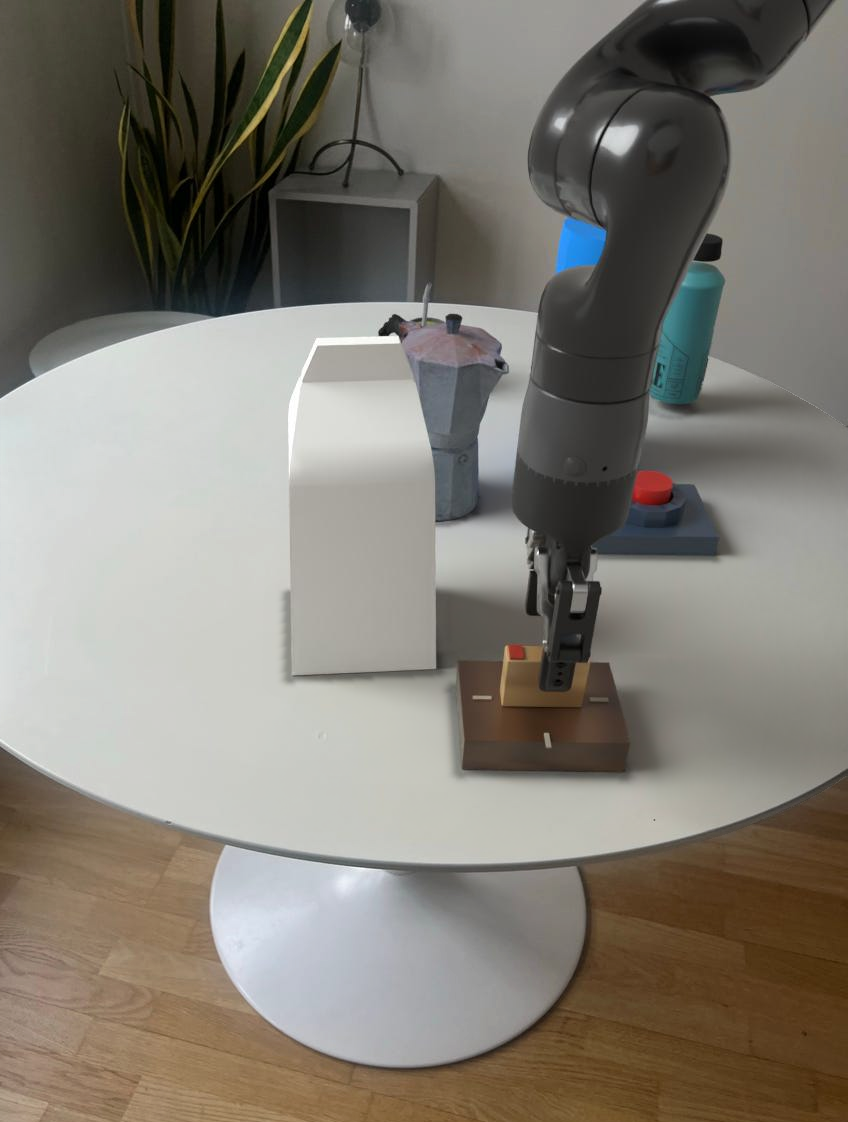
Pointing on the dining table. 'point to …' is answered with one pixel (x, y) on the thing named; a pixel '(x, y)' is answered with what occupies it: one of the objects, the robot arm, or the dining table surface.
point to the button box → (665, 528)
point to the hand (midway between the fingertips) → (546, 648)
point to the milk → (360, 512)
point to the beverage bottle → (689, 329)
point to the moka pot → (451, 400)
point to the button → (652, 488)
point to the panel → (539, 725)
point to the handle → (536, 680)
